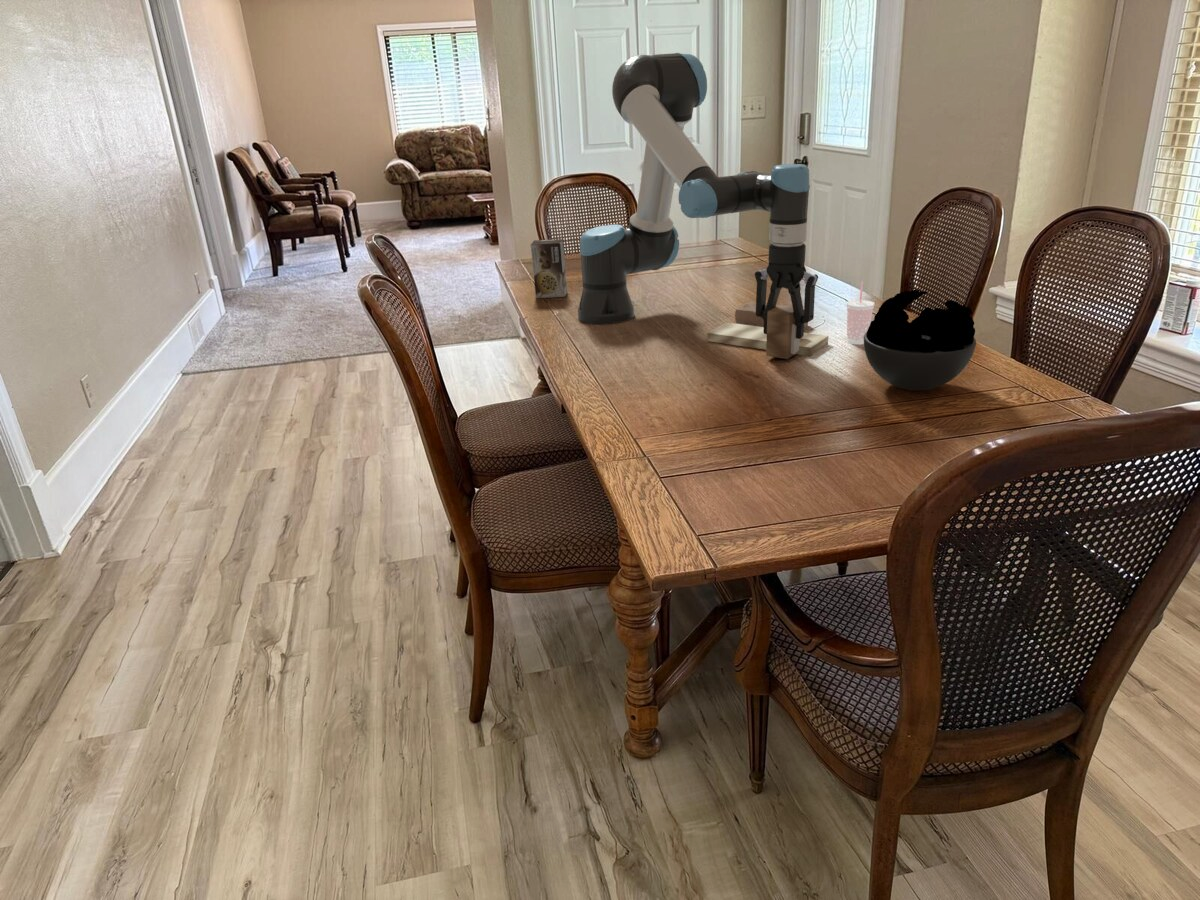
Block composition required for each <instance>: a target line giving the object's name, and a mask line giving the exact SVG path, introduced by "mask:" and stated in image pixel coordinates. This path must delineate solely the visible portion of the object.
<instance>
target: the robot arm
mask: <svg viewBox="0 0 1200 900" xmlns="http://www.w3.org/2000/svg"><path fill="white" fill-rule="evenodd" d="M707 91H708V78H707V74H706V70H705V69H704V65H703V63H702V62H701V60H700V59H699V58H698V57H696V56H695V55H693V54H691V53H681V52H674V53H661V54H660V53H659V54H638V55H635V56H632V57H630V58H628V59H627V60H625V61H624V62H623V63H622V64H621V65H619V68H618V69H617V71H616V73H615V75H614V77H613V81H612V89H611V93H612V100H613V104H614V105H615V109H616V111H617V112H618V113H619V115H620V116H621V118H622V119H623V120H624V122H626V124H630V125H633V127H635V129H636V130H637V132H638V133H639V135H640V136H641V137H642V138H643V140H644V142H645V146H644V147H645V149H644V156H643V161H642V171H641V177H640V184H639V191H638V192H639V193H638V198H637V205H636V212H635V213H633V214H632V215H631V216H630V218H629V224H628V228H626V229H625V227H624V226H623V225H621V224H608V225H600V226H596V227H593V228H590V229H588V230H586V231H584V233H582V234H581V236H580V239H579V240H580V242H579V243H580V244H579V245H580V246H579V247H580V248H579V254H580V262H581V263H580V266H581V277H582V292H581V295H580V296H581V297H580V300H579V304H578V309H577V317H578V320H579V321H581V322H583V323H585V324H586V323H587V324H592V325H594V324H595V325H607V324H608V325H609V324H611V325H612V324H618V323H622V322H626V321H629V320H631V319H633V318H634V316H635V308H634V304H633V302H632V298H631V295H630V293H629V290H628V288H627V287H628V286H627V275H631V274H636V273H643V272H648V271H658V270H660V269H663V268H666V267H667V268H668V267H669V266H670V265H671V264H673V263H674V261H675V260H676V258H677V256H678V253H679V249H680V240H679V239H678V238H679V233H678V230H677V229H676V227H675V225H674V222H673V220H672V219H671V217H670V212H671V207H672V200H673V194H674V190H675V189H674V187H675V184H676V185H677V186H678V187H679V191H678V204H679V205H680V210H681V213H683V216H685V217H687V218H690V219H698V218H699V219H704V218H705V219H707V218H710V217H716V216H721V215H722V216H723V215H728V214H736V213H743V212H748V211H749V212H750V211H766V212H769V214H770V215H769V237H768V239H769V242H770V243H771V244H770V245H768V259H767V260H768V266H767V267H766V268H765V269H759V270H758V271H755V273H754V277H755V280H756V294H755V295H756V297H755V299H756V300H755V302H756V316H757V317H761V318H763V320H764V331H763V332H764V334H767V314H768V311H769V310H771V309H773V308H775V307H776V306H777V304H778V300H779V297H780V292H781V290H782V289H786V290H787V291H788V294H789V295H790V300H791V306H792V307H793V312H794V317H795V323H794V324H792V336H791V354H794V355H796V354H795V353H796V352H798V351H799V341H800V339H801V338H802V337H803V336H804V333H805V332H804V324H805V323H808V324H809V322H811V321H813V320H814V317H815V316H814V314H815V297H816V296H815V294H816V292H815V291H816V285H817V282H818V279H819V276H818V274H816V273H815V274H811V273H810V272H807V269H806V267H805V263H806V249H807V248H806V247H807V245H806V244H805V242H806V241H807V232H808V231H807V226H808V225H807V224H808V211H809V194H810V186H811V185H810V169H809V167H808V166H807V165H806V164H802V163H801V164H800V163H784V164H777V165H774V166H773V167H772V169H771V173H767V172H759V171H755V170H752V171H742V172H739V173H738V174H734V175H726V176H725V175H724V176H718V175H717V174H716V172H715V171H714V170H713V169H712V168H711V166H710V165H709V164H708V163H707V161H706V160H705V158H704V157H703V156H702V155H701V153H700V152H699V151H698V149H697V148H696V146H695V145H694V144H693V142H692V141H691V140H690V139H689V138H688V136H687V134H685V132H684V128H685V125H687V124H688V123H689V122H690V121H691V120H692V118H693V112H694V108H698V107H699V106H701V105H702V103H703V102H705V99H706V96H707V93H708V92H707ZM768 278H770V280H771V284H770V289H769V290H770V292H769V295H768V299H767V289H768V288H767V287H768V286H767V285H768ZM802 280H804V281H803V282H804V284H805V287H804V301H803V299H802V295H801V294H802V293H801V283H800V282H802ZM803 303H804V304H803Z"/></svg>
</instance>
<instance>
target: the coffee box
mask: <svg viewBox="0 0 1200 900" xmlns="http://www.w3.org/2000/svg"><path fill="white" fill-rule="evenodd" d="M530 252H531V261H532V271H533V272H532V273H533V282H534V293H535V295H534V296H535V298H536V299H542V298H548V299H549V298H566V295H567V294H568V285H567V284H568V283H567V274H566V273H567V272H566V262H565V261H566V260H565V249H564V238H559V239H558V238H557V239H556V238H555V239H554V238H553V239H539V240H537V239H536V240H533V241H532V242H531V243H530Z"/></svg>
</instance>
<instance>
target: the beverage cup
mask: <svg viewBox="0 0 1200 900" xmlns="http://www.w3.org/2000/svg"><path fill="white" fill-rule="evenodd" d="M863 289H864V280H860V289H859V290H860V291H859V299H854V300H853V299H852V300H849V301H847V302H845V304H846V306H845V307H846V311H847V312H846V314H847V315H846V342H847V343H848V344H852V345H864V335H865V333H866V332H867V330H868V328H869V326H870V323H871V321H872V315H873V309H874V308H875V302H874V301H871V300H865V299H863Z"/></svg>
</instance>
